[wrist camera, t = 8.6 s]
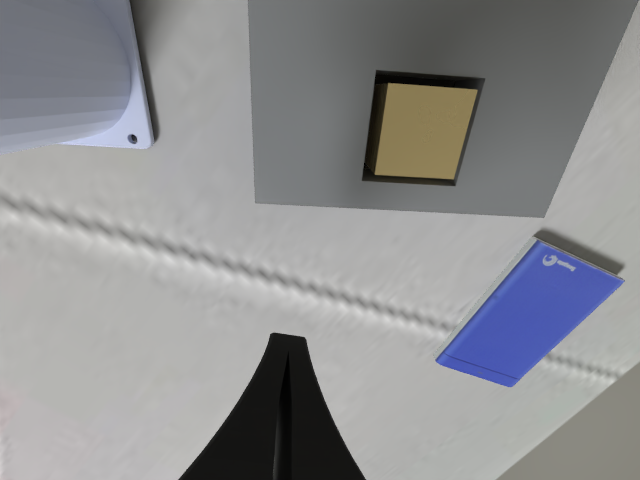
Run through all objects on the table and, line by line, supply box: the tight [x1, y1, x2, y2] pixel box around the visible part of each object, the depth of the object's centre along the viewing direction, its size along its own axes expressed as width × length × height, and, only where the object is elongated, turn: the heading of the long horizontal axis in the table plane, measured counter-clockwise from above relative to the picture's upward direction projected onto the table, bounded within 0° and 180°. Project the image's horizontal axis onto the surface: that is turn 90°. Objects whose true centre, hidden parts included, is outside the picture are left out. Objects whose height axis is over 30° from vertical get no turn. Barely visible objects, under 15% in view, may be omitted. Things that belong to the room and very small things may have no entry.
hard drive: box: [433, 236, 625, 387], centre depth 24 cm, size 2×8×12 cm
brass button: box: [365, 83, 478, 179], centre depth 15 cm, size 4×4×3 cm
